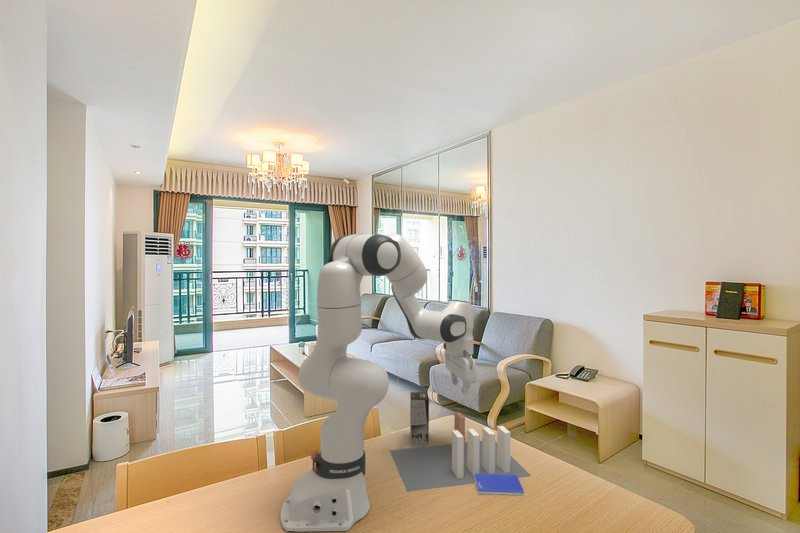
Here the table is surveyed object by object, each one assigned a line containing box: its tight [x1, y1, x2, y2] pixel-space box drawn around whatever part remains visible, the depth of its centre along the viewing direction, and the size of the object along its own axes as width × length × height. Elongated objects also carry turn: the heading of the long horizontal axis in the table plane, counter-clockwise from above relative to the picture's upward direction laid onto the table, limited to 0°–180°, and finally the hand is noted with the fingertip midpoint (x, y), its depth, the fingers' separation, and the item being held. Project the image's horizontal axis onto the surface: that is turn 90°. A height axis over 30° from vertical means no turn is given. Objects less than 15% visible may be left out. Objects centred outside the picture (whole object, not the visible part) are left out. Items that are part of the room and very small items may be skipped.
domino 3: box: [481, 426, 496, 474], centre depth 123 cm, size 2×5×12 cm, turn 13°
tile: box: [454, 411, 466, 453], centre depth 136 cm, size 2×5×12 cm, turn 12°
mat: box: [389, 440, 532, 492], centre depth 128 cm, size 38×25×1 cm, turn 103°
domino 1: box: [451, 429, 464, 478], centre depth 121 cm, size 2×5×12 cm, turn 12°
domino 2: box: [466, 428, 481, 476], centre depth 122 cm, size 2×5×12 cm, turn 12°
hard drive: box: [474, 473, 525, 496], centre depth 114 cm, size 2×8×12 cm
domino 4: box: [496, 425, 511, 472], centre depth 124 cm, size 2×5×12 cm, turn 13°
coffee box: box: [409, 391, 430, 446], centre depth 144 cm, size 9×6×16 cm
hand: (459, 389), depth 136 cm, fingers open, 8 cm apart
